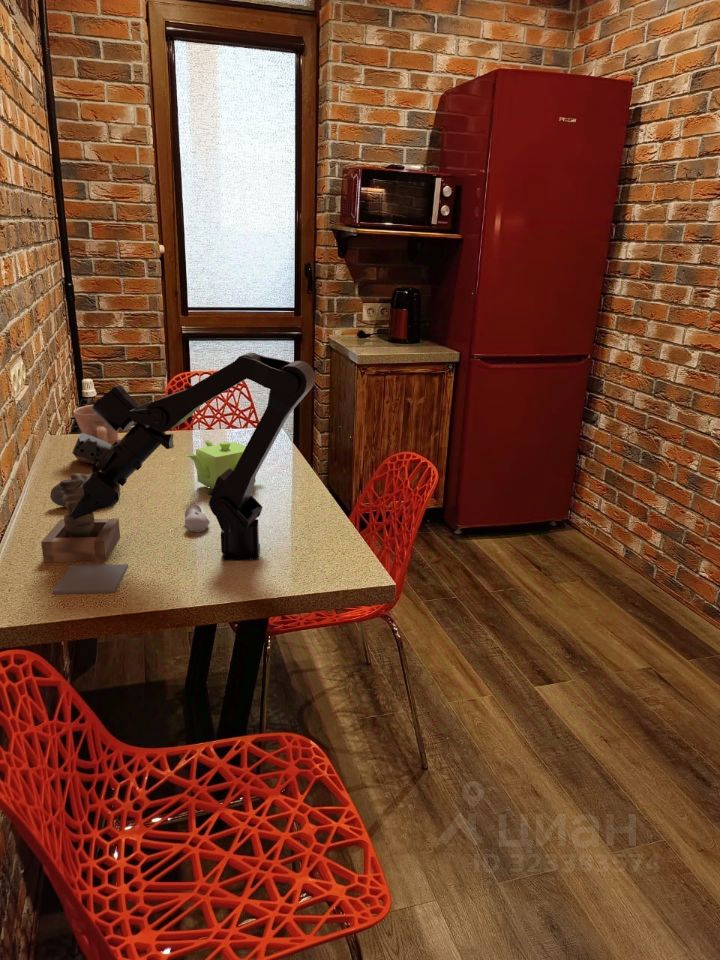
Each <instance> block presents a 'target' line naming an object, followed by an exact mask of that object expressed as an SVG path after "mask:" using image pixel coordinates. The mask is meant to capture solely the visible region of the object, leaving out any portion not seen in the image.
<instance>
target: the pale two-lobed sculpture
mask: <svg viewBox="0 0 720 960" xmlns="http://www.w3.org/2000/svg"><path fill="white" fill-rule="evenodd" d="M184 518H185V519H184V524H185V527H186V528H187V530H189V531H190V532H196V533H199V532H202V531H205V530H206V529H207V528H208V526H209V524H211V523H210V520H209V518H208V517H207V515H206V514H205V513H203V512H202V508H201V506H199V504H197V503H192V504H190V505H189V506H188V507H187V508H186V510H185V511H184Z"/></svg>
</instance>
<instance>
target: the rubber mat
mask: <svg viewBox="0 0 720 960" xmlns="http://www.w3.org/2000/svg"><path fill="white" fill-rule="evenodd" d="M128 567H129V564H128V563H121V564H120V563H113V564H112V563H110V564H109V563H108V564H105V563H104V564H70V565H69V566H68V568H67V570H66V571H65V573H63V575H62V576H61V578H60V579H59V581H58V582H57V584H56V585H55V586H54V588H53V589H52V590H51V593H52V595H54V594H55V595H57V594H58V595H63V594H64V595H65V594H68V595H69V594H102V593H104V594H107V593H108V594H109V593H111V594H113V593H116V590H117V588H118V587H119V585H120V583H121V581H122V579H123V578H124V576H125V574H126V572H127V570H128Z"/></svg>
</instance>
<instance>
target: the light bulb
mask: <svg viewBox="0 0 720 960" xmlns="http://www.w3.org/2000/svg"><path fill="white" fill-rule="evenodd" d="M87 477H88V475H87V474H85V473H78V472H77V473H71V474H70V478H69V479H70V480H68V479H63V480H61V481H60V482H59V483H60V485H61V487H62V489H61V492H62V494H64V496H63V498H62V499H63V501H65V502H66V505H65V506H64V507H65V508H66V509H67V510H68V513H65V514H64V516H63V519H64V523H65V529H66V531H67V532H68V533H69V534H70V535H71V536H72V537H73V538H77V537H89V534H90V533H91V531H92V530H93V528H94V519H95V515H94V512H92V513H89V514H87V515H84V516H82V517H79V518H76V519H74V518H72V517H71V516H70V515H71V513H72V511H73V510H74V508H75V507H76V505H77V504H78V502H79V501H80V499H81V498H82V496H83V495H84V491H83V488H82V485H83V483H84V481H85V480H86V479H87Z"/></svg>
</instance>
